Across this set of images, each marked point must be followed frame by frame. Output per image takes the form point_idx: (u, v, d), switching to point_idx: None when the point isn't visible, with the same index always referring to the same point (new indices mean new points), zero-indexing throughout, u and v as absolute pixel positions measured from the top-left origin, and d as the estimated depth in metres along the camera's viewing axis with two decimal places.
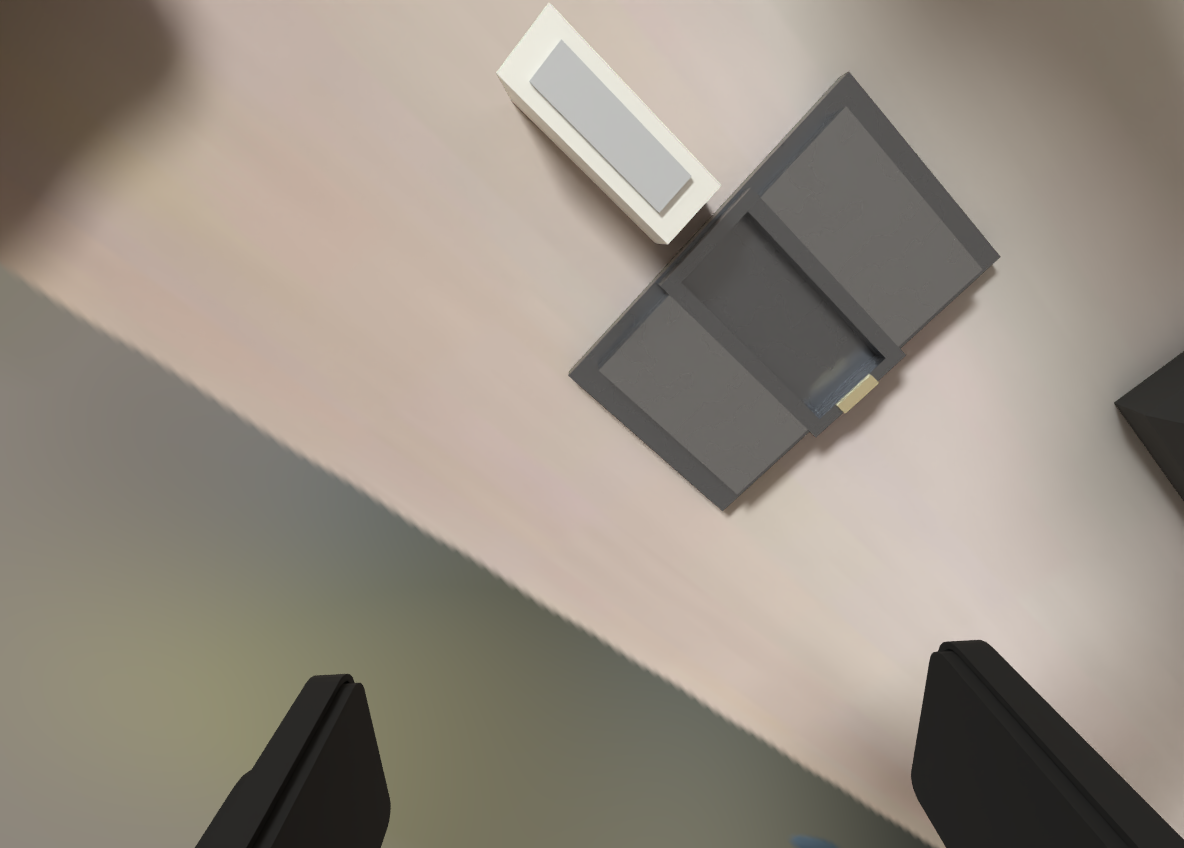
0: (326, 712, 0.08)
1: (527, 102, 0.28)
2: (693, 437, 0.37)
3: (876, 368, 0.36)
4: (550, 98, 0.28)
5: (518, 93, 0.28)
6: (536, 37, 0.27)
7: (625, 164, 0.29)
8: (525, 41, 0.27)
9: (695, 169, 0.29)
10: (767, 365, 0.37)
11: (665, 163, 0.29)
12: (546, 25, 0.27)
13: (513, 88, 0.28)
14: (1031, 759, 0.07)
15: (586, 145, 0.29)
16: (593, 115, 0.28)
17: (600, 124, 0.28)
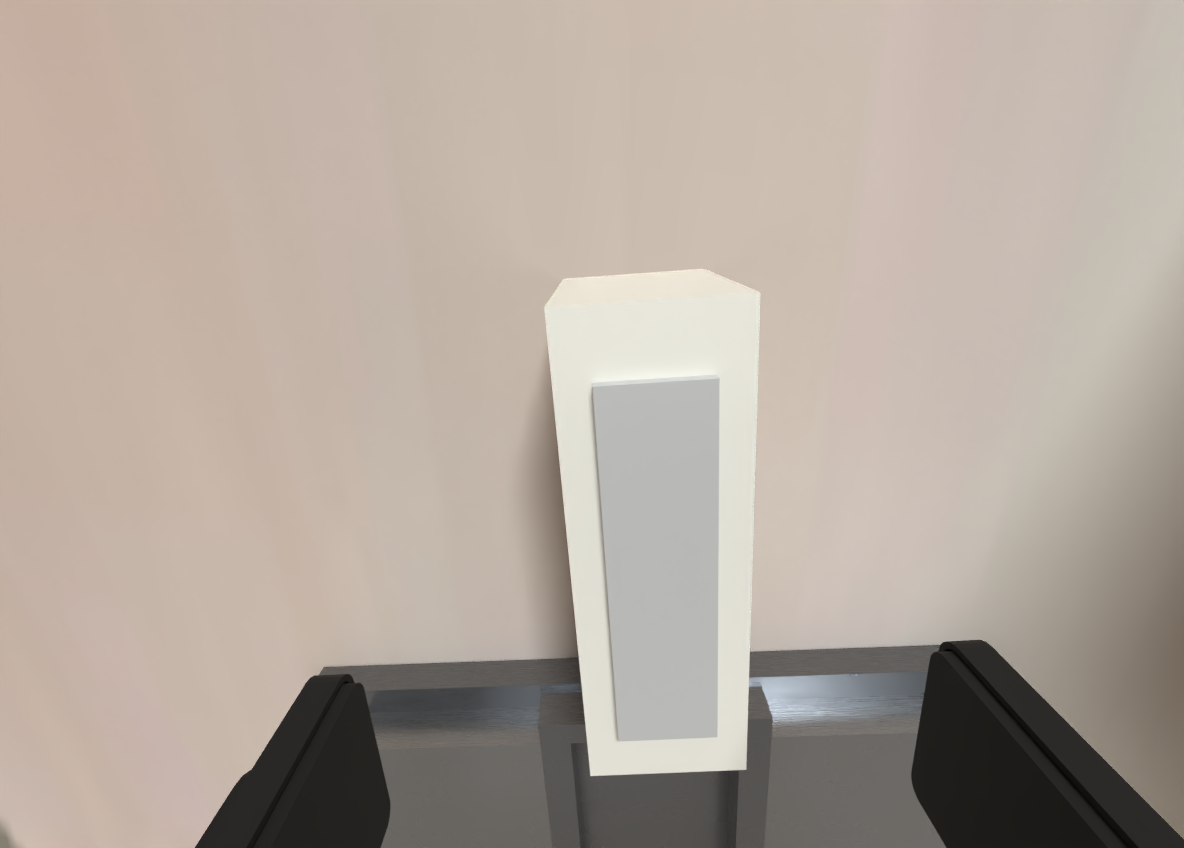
0: (326, 712, 0.08)
1: (557, 408, 0.11)
2: None
3: None
4: (604, 448, 0.11)
5: (554, 379, 0.11)
6: (678, 324, 0.10)
7: (632, 643, 0.13)
8: (652, 311, 0.10)
9: (731, 724, 0.14)
10: None
11: (696, 692, 0.13)
12: (716, 324, 0.10)
13: (552, 363, 0.11)
14: (1031, 759, 0.07)
15: (597, 558, 0.12)
16: (652, 537, 0.12)
17: (652, 559, 0.12)
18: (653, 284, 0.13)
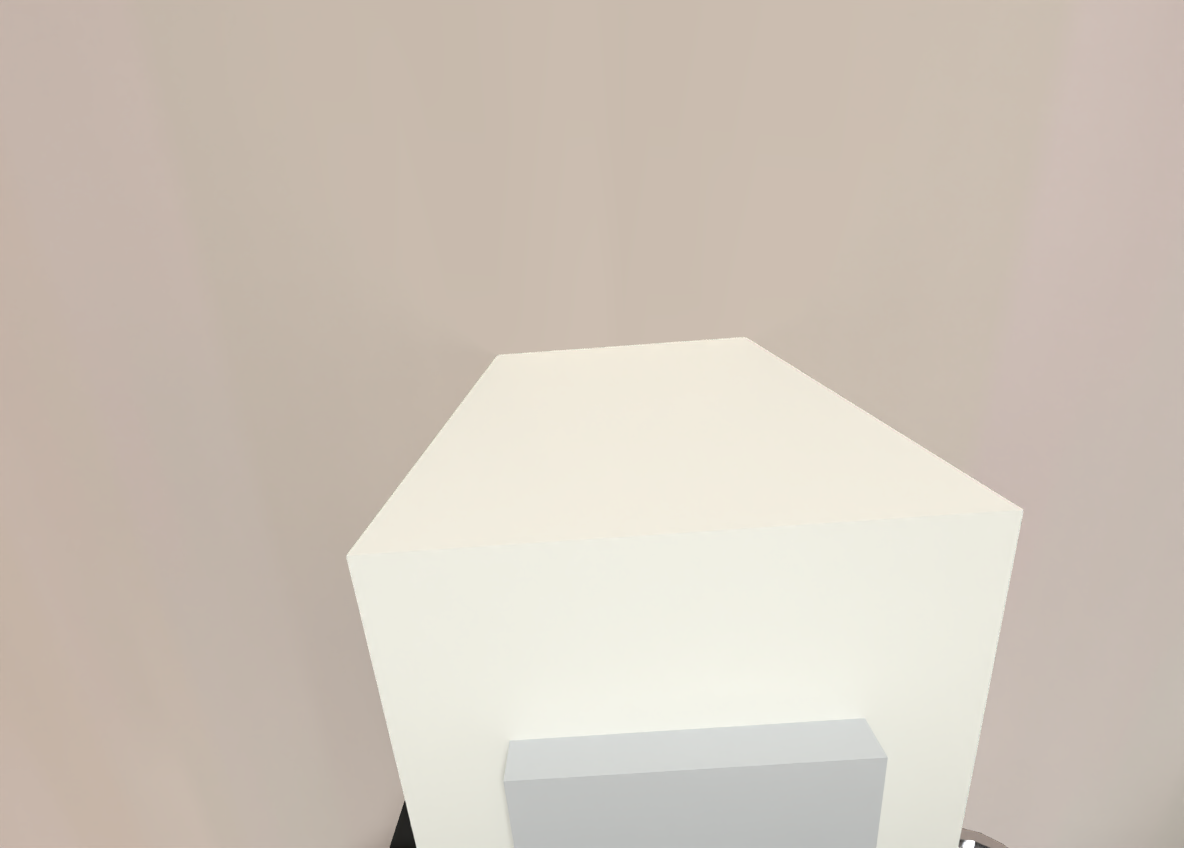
0: None
1: (412, 802, 0.04)
2: None
3: None
4: None
5: (399, 732, 0.04)
6: (762, 599, 0.03)
7: None
8: (683, 562, 0.03)
9: None
10: None
11: None
12: (878, 596, 0.03)
13: (389, 699, 0.04)
14: None
15: None
16: None
17: None
18: (666, 403, 0.06)
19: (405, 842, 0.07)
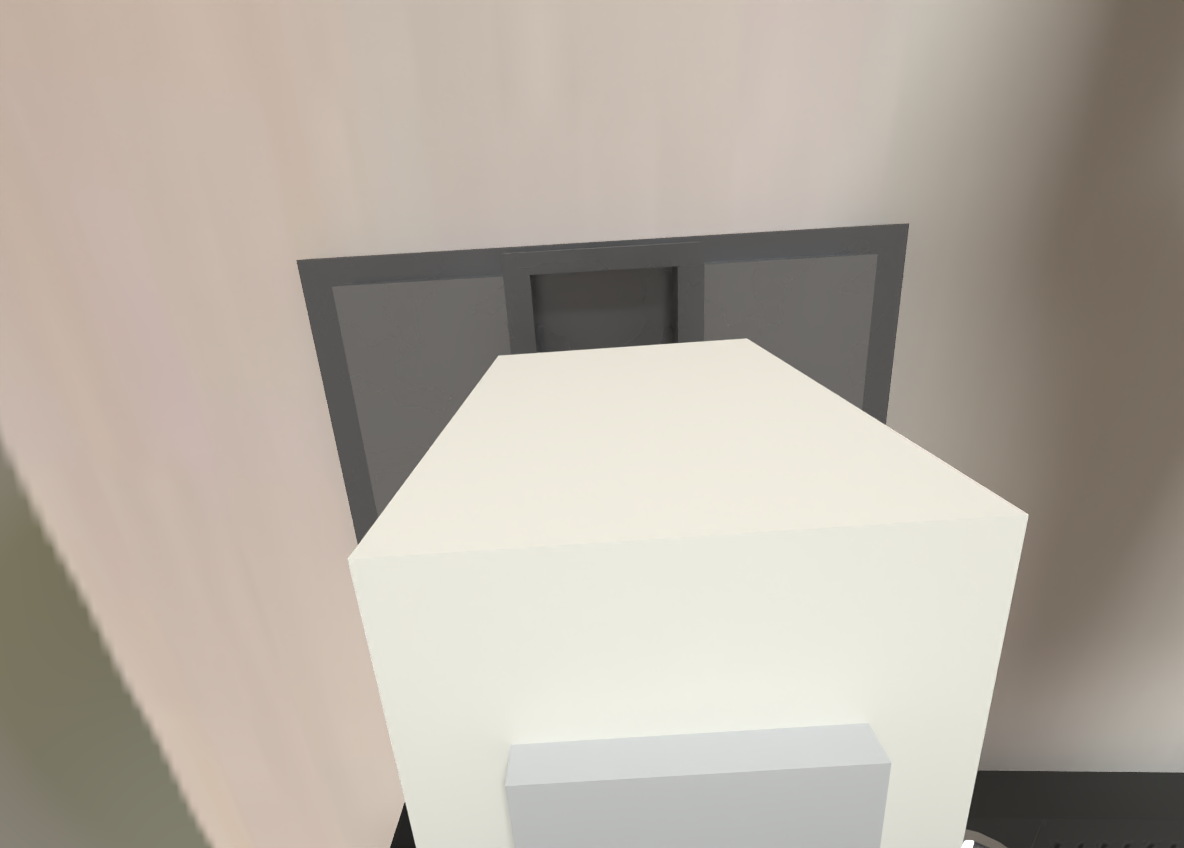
0: None
1: (413, 806, 0.04)
2: (391, 475, 0.23)
3: None
4: None
5: (400, 736, 0.04)
6: (766, 602, 0.03)
7: None
8: (686, 566, 0.03)
9: None
10: None
11: None
12: (882, 601, 0.03)
13: (390, 703, 0.04)
14: None
15: None
16: None
17: None
18: (668, 405, 0.06)
19: (406, 842, 0.07)
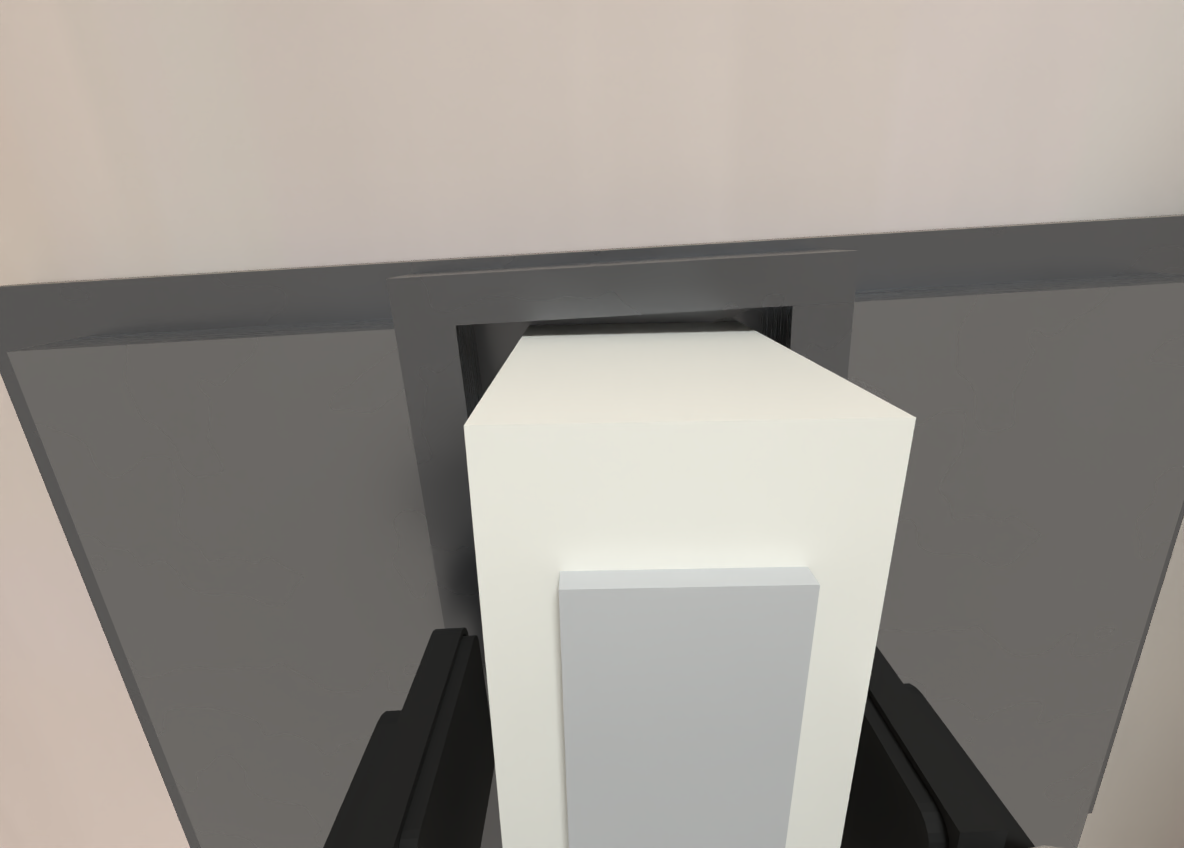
0: (456, 658, 0.09)
1: (487, 616, 0.06)
2: (193, 717, 0.12)
3: None
4: (577, 700, 0.06)
5: (483, 561, 0.05)
6: (741, 472, 0.05)
7: None
8: (690, 443, 0.05)
9: None
10: None
11: None
12: (819, 475, 0.05)
13: (480, 534, 0.05)
14: None
15: None
16: (662, 847, 0.06)
17: None
18: (675, 359, 0.07)
19: None
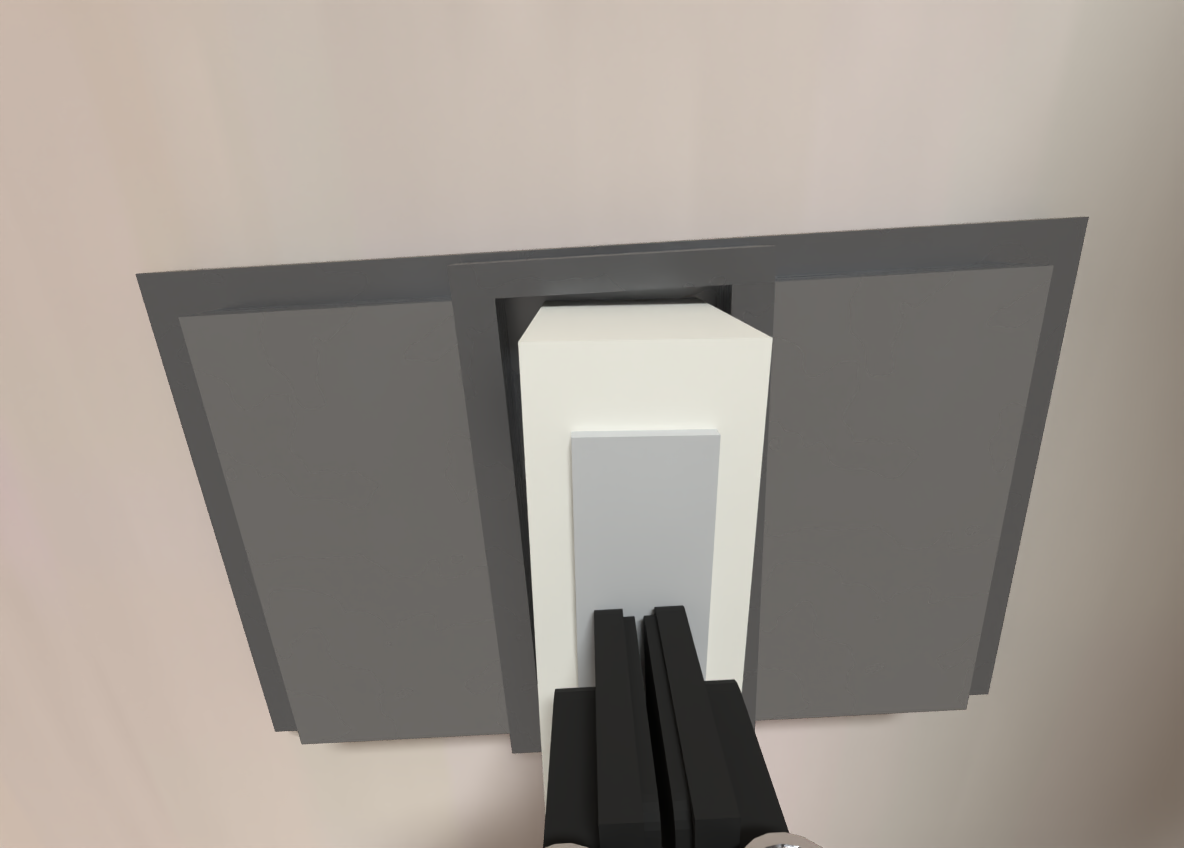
0: (626, 637, 0.09)
1: (528, 460, 0.09)
2: (292, 597, 0.15)
3: None
4: (581, 509, 0.09)
5: (527, 425, 0.09)
6: (675, 370, 0.09)
7: None
8: (645, 352, 0.09)
9: None
10: None
11: None
12: (719, 372, 0.09)
13: (525, 407, 0.09)
14: (658, 698, 0.08)
15: (567, 631, 0.10)
16: (633, 612, 0.10)
17: None
18: (645, 317, 0.11)
19: (558, 831, 0.07)
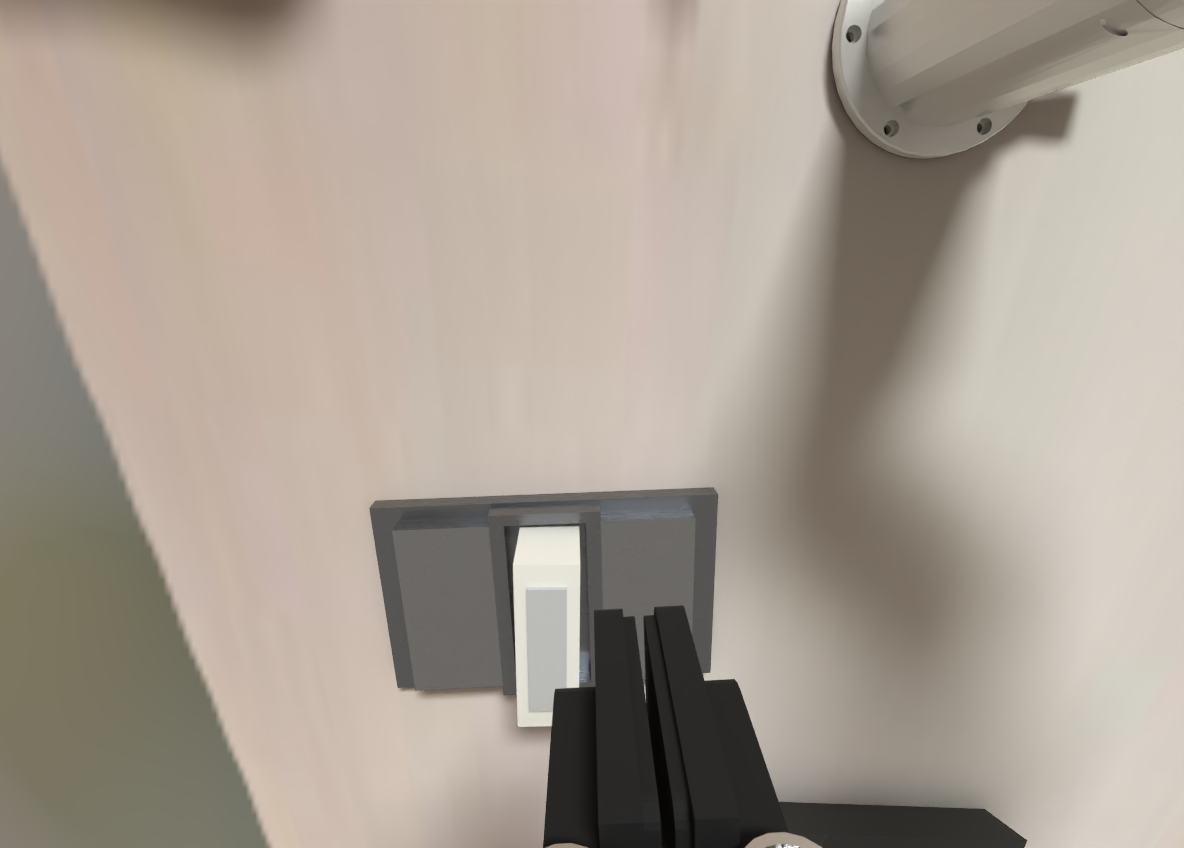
0: (626, 637, 0.09)
1: (514, 594, 0.34)
2: (419, 629, 0.39)
3: (579, 683, 0.41)
4: (529, 608, 0.34)
5: (514, 585, 0.33)
6: (554, 572, 0.33)
7: (536, 674, 0.35)
8: (546, 567, 0.33)
9: None
10: None
11: None
12: (566, 572, 0.33)
13: (514, 581, 0.33)
14: (658, 698, 0.08)
15: (525, 642, 0.35)
16: (544, 637, 0.34)
17: (543, 644, 0.34)
18: (552, 542, 0.36)
19: (558, 831, 0.07)
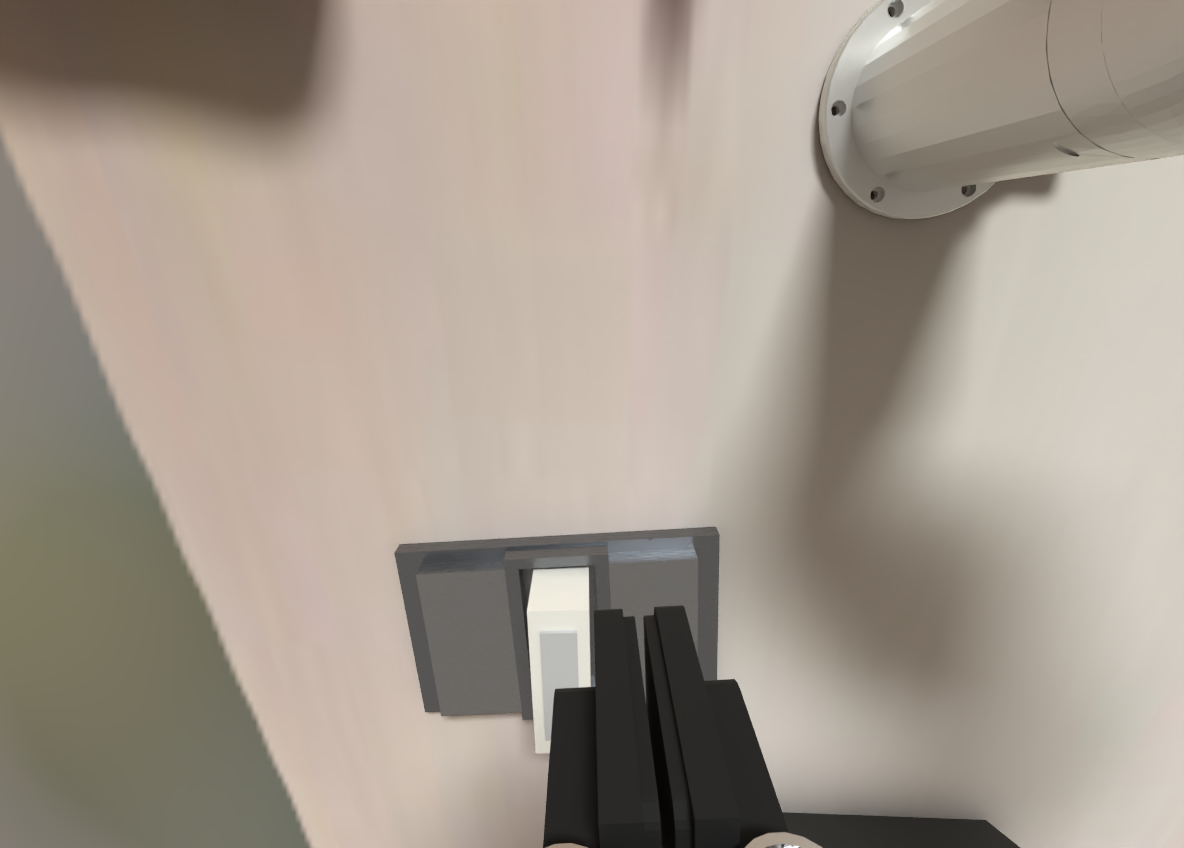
0: (626, 637, 0.09)
1: (529, 637, 0.36)
2: (443, 661, 0.43)
3: None
4: (543, 649, 0.36)
5: (528, 629, 0.36)
6: (565, 617, 0.36)
7: (551, 707, 0.38)
8: (558, 613, 0.36)
9: None
10: None
11: None
12: (576, 617, 0.36)
13: (528, 625, 0.36)
14: (658, 698, 0.08)
15: (540, 679, 0.38)
16: (557, 675, 0.37)
17: (557, 681, 0.37)
18: (563, 586, 0.38)
19: (558, 831, 0.07)
